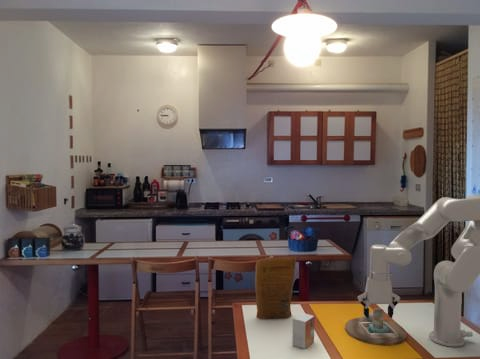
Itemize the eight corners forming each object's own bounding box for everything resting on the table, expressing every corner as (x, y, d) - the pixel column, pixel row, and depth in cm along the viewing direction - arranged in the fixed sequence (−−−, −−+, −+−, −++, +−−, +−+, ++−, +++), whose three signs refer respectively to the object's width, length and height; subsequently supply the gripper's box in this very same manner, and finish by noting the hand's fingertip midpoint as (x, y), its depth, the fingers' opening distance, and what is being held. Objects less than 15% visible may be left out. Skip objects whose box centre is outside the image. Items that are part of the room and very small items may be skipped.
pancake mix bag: (297, 319, 181) (298, 257, 180) (255, 321, 179) (256, 258, 177) (293, 313, 188) (294, 254, 187) (252, 315, 185) (253, 255, 184)
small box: (304, 349, 153) (305, 322, 152) (291, 345, 156) (292, 318, 156) (314, 342, 159) (315, 315, 159) (302, 338, 163) (302, 312, 162)
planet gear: (383, 327, 170) (384, 306, 169) (390, 335, 162) (391, 313, 162) (365, 327, 170) (365, 306, 169) (371, 335, 162) (372, 313, 161)
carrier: (391, 320, 181) (391, 310, 181) (416, 344, 157) (417, 333, 157) (338, 320, 180) (338, 310, 180) (355, 345, 156) (356, 334, 156)
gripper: (396, 272, 169) (395, 313, 170) (355, 273, 168) (354, 313, 169) (404, 278, 161) (403, 320, 162) (361, 278, 161) (360, 320, 161)
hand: (378, 316), depth 165 cm, fingers open, 9 cm apart
